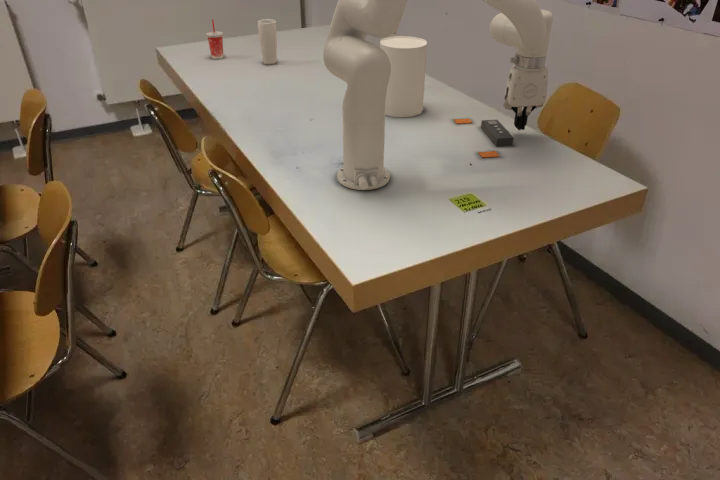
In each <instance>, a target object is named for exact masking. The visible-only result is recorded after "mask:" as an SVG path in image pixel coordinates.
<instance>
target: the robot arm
mask: <svg viewBox="0 0 720 480" xmlns="http://www.w3.org/2000/svg"><path fill="white" fill-rule="evenodd" d="M482 1H483V2H484V3H486V4H487V5H488V6H490V7H492V8H494V9H495V10H497V11H498V12H499V13H497V14H496V15H495V16H494V17H493V18H492V20H491V21H490V23H489V34H490V36H491V38H492V39H493V40H494V41H496V42H498V43H500V44H503V45H506V46H510V47H513V48H516V52H515V56H512V57H510V63H512V64H513V65H512V66H511V68H510V71H509V73H508V77H507V81H506V86H505V89H504V90H505V91H504V103H503V109H506V110H510V111H513V112H514V114H515V115H514V121H513V125H514V127H515V128H516V129H517V130H518V131H521V130H522V131H524V130H526V129H525V128H526V126H527V123H528V119H529V116H530V115H531V113H532V112H533V111H534V110H535V109H540V108H542V107H543V106H544V104H546V100H547V96H548V95H547V93H548V84H549V67H548V66H547V65H546V62H547V56H548V51H549V45H550V39H551V34H552V27H553V21H554V16H553V15H554V14H553V13H552V11H549V10H547V9H543V8H542V9H541V7H540V5H539V3H538V1H537V0H482ZM407 3H408V0H337V3H336V5H335V8H334V12H333V15H332V18H331V22H330V25H329V28H328V32H327V36H326V39H325V43H324V47H323V53H322V57H323V63H324V66H325V68H326V70H327V71H329V73H330V74H332V75H333V76H335V77H336V78H338V79H340V80H342V81H344V82H345V83H346V86H347V87H346V91H345V94H344V96H343V100H342V107H341V108H342V113H341V114H342V151H343V152H342V154H343V156H342V158H343V160H342V161H343V163H342V164H343V166H342V167H341V168H339V169H338V171H337V173H336V179H337V182H338V183H339V184H340V185H341V186H343V187H344V188H345V187H346V188H348V189H351V190H355V191H356V190H357V191H370V190H376V189H380V188H382V187H384V186H386V185H387V184H388V183H389V182H390V179H391V173H390V170H389V169H387V168H386V167H385V138H386V137H385V135H386V134H385V133H386V132H385V131H386V115H385V102H386V93H387V87H388V83H389V78H390V73H391V64H390V60H389V58H388V56H387V54H386V53H385V52H384V50H382V49H381V48H380V45H377V44H375V43H372V42H371V41H368V40H366V39H367V37H368V35H369V36H372V37H374V38H380V39H384V38H387V37H392V36H394V34H395V33H396V31H397V30H398V28H399V26H400V23H401V20H402V19H403V15H404V12H405V9H406V6H407Z"/></svg>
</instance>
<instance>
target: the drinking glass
mask: <svg viewBox="0 0 720 480" xmlns="http://www.w3.org/2000/svg"><path fill="white" fill-rule="evenodd" d="M277 28H278V27H277V20H276V19H271V18H263V19H259V20H257V34H258V39H259V45H260V50H261V58H262V63H263V64H264V65H275V64H278V63H277V62H278V29H277Z"/></svg>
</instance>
